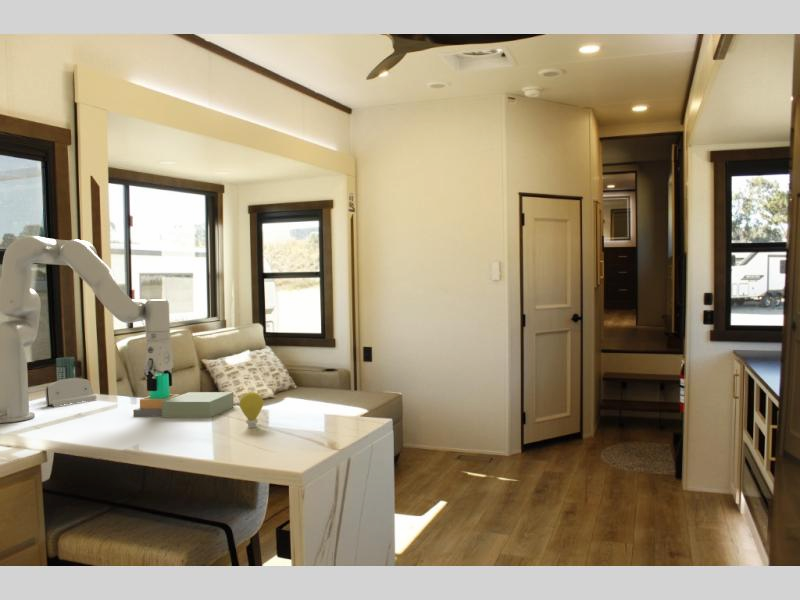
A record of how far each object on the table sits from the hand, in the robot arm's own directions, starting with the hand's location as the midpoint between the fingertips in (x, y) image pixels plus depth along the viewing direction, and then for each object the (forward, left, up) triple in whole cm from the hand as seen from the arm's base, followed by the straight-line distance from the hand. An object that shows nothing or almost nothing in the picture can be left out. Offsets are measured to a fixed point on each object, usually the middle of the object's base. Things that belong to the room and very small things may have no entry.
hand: (159, 388), depth 217 cm
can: (+29, +55, -8) cm, 63 cm away
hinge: (+16, +45, -8) cm, 48 cm away
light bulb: (-21, -40, -8) cm, 46 cm away
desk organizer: (0, -8, -8) cm, 11 cm away
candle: (0, 0, -6) cm, 6 cm away
